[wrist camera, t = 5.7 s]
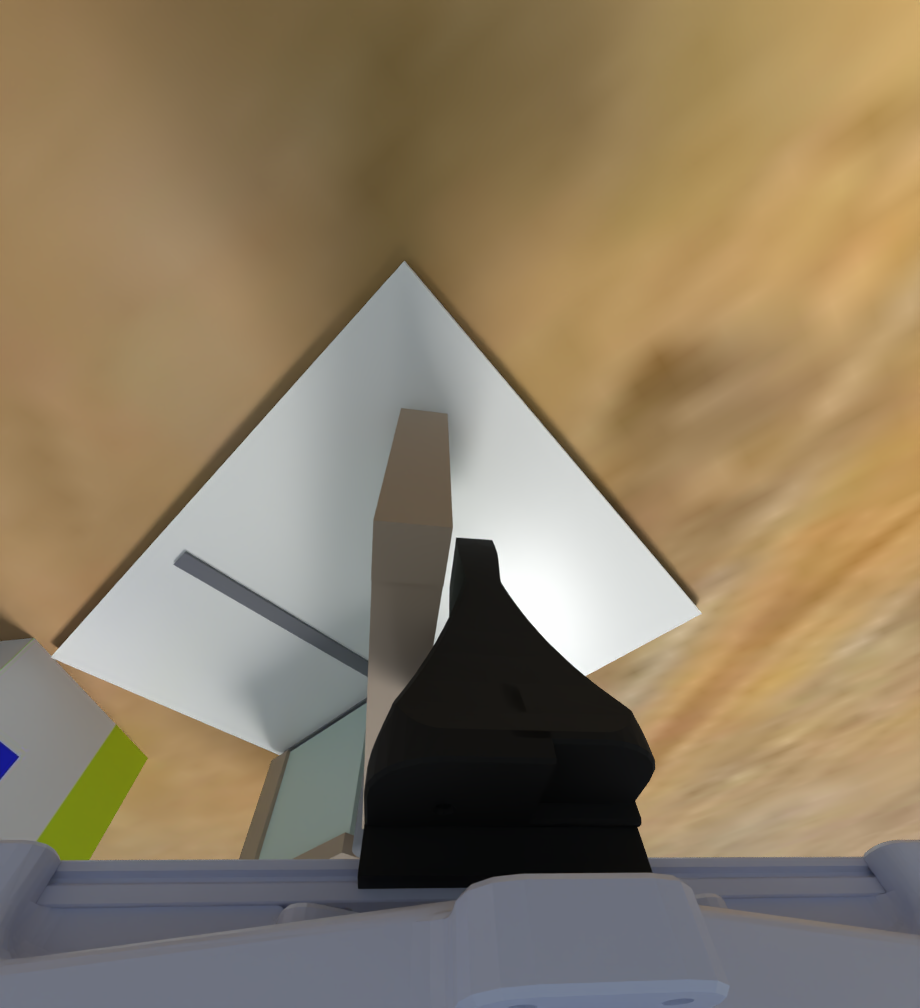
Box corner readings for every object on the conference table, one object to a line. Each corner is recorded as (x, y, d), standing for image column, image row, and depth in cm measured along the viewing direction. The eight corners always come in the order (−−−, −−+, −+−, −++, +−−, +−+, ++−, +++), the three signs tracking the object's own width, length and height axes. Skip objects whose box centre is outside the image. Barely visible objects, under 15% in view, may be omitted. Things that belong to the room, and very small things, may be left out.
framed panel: (413, 675, 19) (404, 832, 14) (383, 673, 19) (361, 832, 14) (447, 413, 12) (453, 527, 7) (400, 408, 12) (373, 520, 7)
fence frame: (426, 677, 20) (421, 848, 14) (302, 756, 24) (257, 921, 18) (397, 659, 19) (378, 832, 14) (272, 743, 23) (214, 911, 17)
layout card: (696, 606, 18) (702, 615, 18) (368, 785, 26) (367, 794, 25) (405, 260, 11) (403, 261, 11) (58, 649, 18) (48, 659, 18)
